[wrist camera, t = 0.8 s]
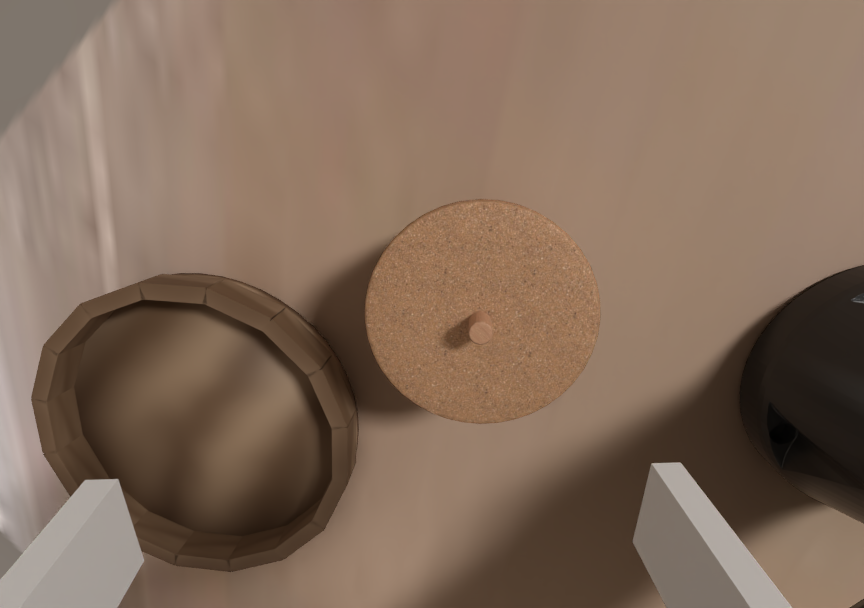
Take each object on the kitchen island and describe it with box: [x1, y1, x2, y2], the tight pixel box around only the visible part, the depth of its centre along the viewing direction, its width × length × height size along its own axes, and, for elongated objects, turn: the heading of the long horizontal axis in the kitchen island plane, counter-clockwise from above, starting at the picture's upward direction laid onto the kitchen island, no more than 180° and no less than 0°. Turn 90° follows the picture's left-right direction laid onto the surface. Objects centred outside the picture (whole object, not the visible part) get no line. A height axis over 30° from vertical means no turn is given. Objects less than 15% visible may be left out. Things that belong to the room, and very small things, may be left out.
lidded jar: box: [365, 199, 600, 424], centre depth 24 cm, size 11×11×9 cm
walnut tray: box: [31, 273, 359, 572], centre depth 32 cm, size 21×21×3 cm
